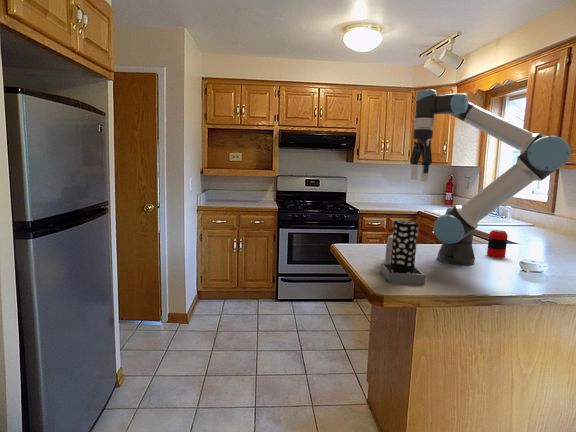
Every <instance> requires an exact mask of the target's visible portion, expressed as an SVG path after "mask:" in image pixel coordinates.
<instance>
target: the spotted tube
mask: <svg viewBox="0 0 576 432" xmlns="http://www.w3.org/2000/svg"><path fill="white" fill-rule="evenodd" d="M418 229H419V222H417V221H412V220H402V219H401V220H399V219H398V220H394V221H393V231H392V234H393V242H392V255H391V267H390V272H391V273H409V274H414V266H416V265H415V263H416V254H417V253H416V251H417V243H418V236H417V233H418V234H419V231H418Z"/></svg>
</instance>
